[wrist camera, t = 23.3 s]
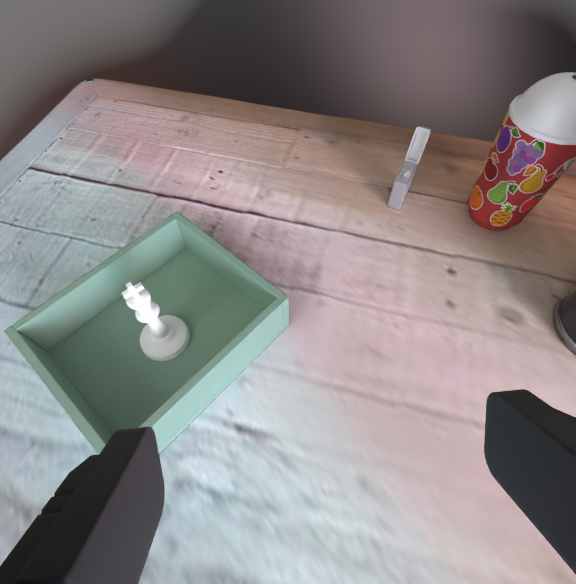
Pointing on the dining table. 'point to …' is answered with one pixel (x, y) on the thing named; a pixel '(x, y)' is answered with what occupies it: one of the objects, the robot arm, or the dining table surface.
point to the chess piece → (156, 326)
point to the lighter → (408, 168)
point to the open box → (127, 329)
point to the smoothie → (527, 153)
